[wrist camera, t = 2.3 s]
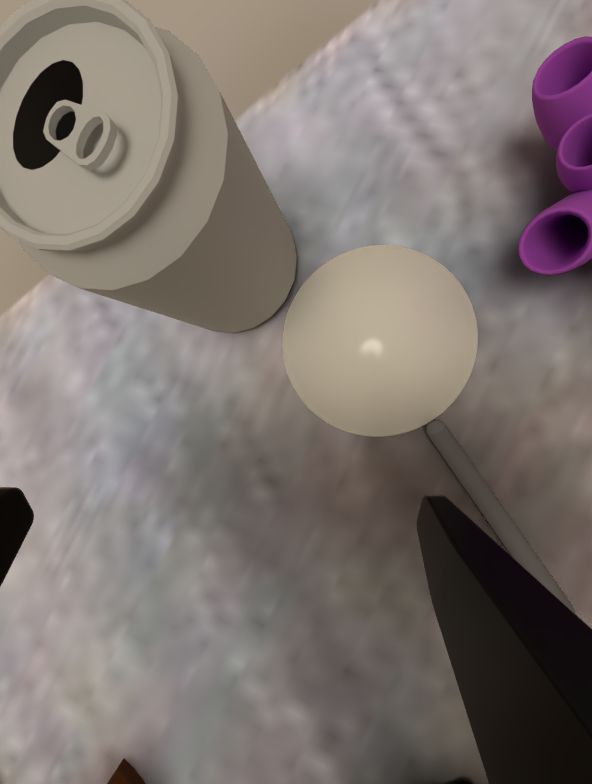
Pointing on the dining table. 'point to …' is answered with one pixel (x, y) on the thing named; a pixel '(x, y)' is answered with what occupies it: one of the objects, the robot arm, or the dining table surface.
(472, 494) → the thin grey rod
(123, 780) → the food container
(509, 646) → the robot arm
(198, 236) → the can
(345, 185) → the dining table surface
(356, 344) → the disc
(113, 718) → the dining table surface
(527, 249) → the purple tube coral sculpture
